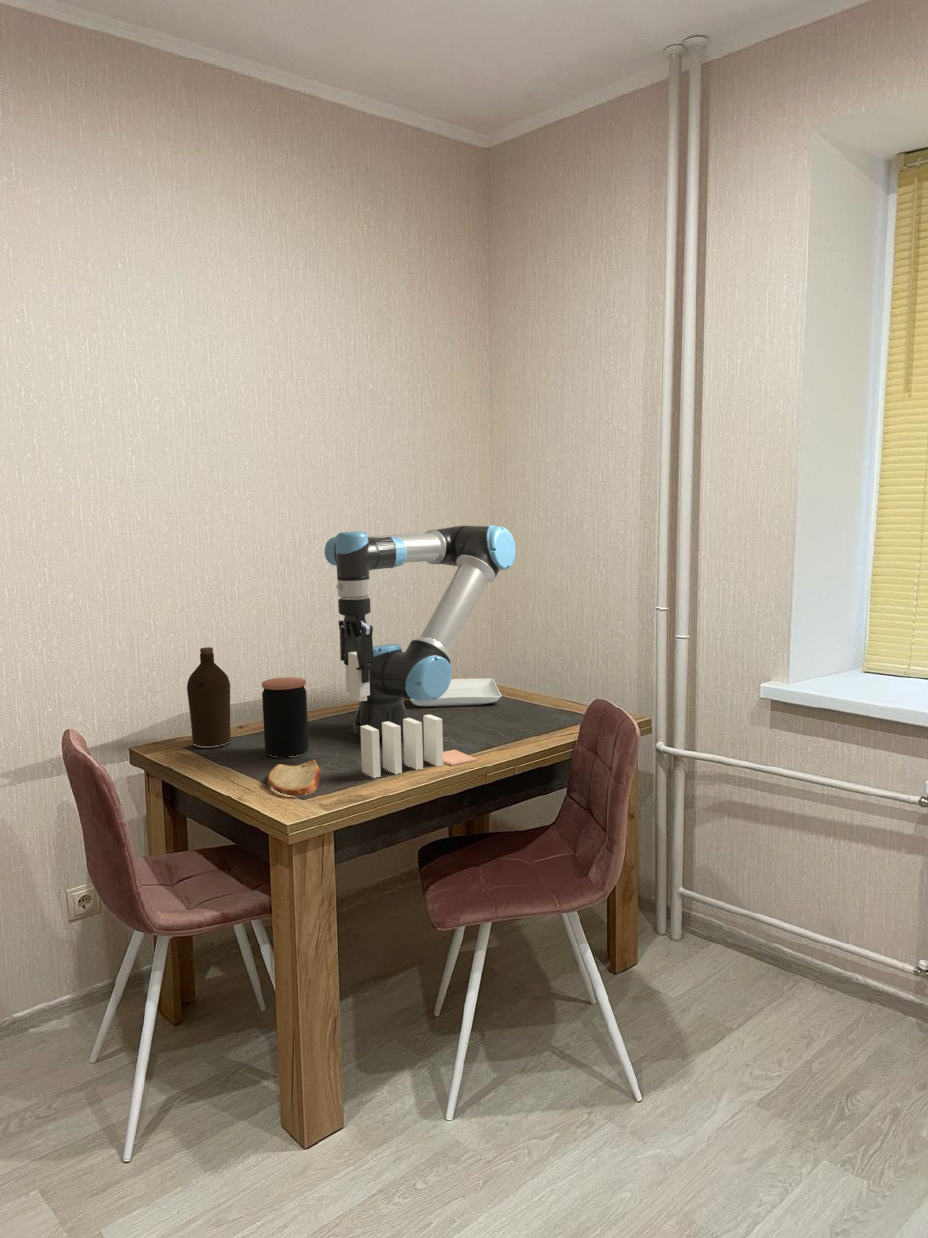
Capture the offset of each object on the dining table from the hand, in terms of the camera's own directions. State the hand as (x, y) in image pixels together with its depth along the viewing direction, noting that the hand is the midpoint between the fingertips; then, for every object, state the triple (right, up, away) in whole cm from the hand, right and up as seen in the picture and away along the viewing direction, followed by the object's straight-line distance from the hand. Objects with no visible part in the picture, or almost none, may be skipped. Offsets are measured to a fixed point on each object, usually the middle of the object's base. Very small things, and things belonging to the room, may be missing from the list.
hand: (358, 693), depth 226 cm
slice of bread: (-11, -19, -17) cm, 28 cm away
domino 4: (+14, -17, -7) cm, 23 cm away
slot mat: (+23, -15, -1) cm, 28 cm away
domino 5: (+18, -16, -4) cm, 25 cm away
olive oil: (-39, -15, +16) cm, 45 cm away
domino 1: (0, -1, 0) cm, 1 cm away
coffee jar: (-18, -15, +7) cm, 25 cm away
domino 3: (+9, -17, -10) cm, 22 cm away
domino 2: (+4, -18, -13) cm, 22 cm away
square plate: (+22, -7, +64) cm, 68 cm away
